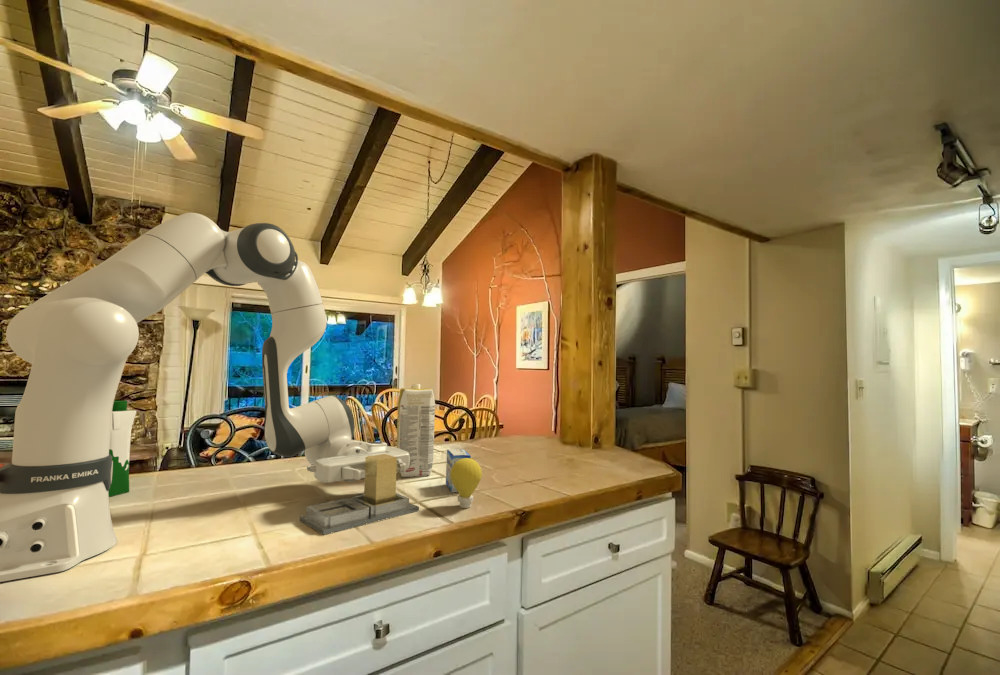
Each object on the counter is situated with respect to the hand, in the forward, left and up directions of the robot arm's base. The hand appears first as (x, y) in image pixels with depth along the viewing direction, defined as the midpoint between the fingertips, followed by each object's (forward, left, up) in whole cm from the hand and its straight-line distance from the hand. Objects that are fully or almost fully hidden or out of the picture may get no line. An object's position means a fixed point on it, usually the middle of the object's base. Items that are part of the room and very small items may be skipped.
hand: (383, 471), depth 95 cm
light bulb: (+15, -8, -8) cm, 19 cm away
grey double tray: (-4, +1, -8) cm, 9 cm away
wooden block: (0, +1, -7) cm, 7 cm away
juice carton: (+23, +22, -8) cm, 33 cm away
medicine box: (+23, +4, -8) cm, 25 cm away
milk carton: (-39, +50, -8) cm, 64 cm away
